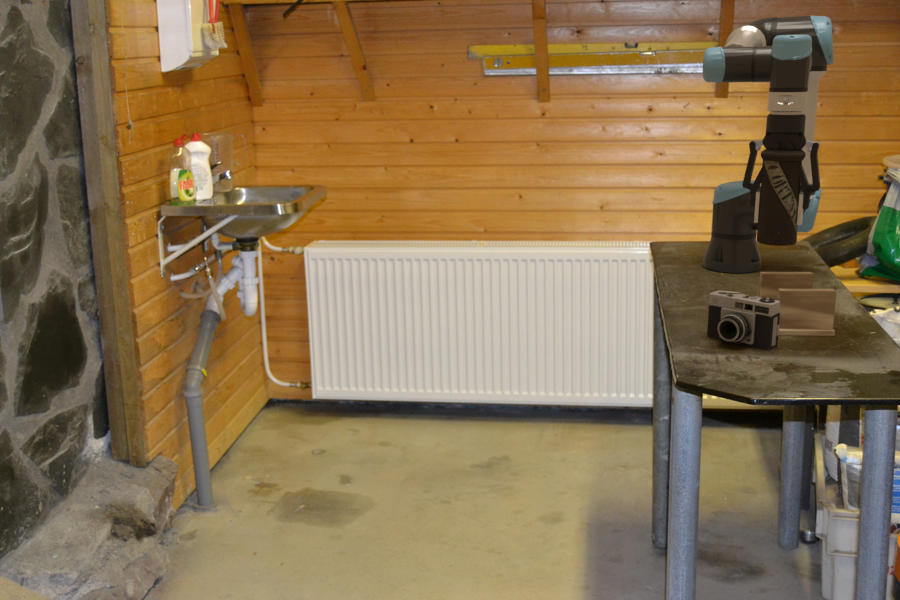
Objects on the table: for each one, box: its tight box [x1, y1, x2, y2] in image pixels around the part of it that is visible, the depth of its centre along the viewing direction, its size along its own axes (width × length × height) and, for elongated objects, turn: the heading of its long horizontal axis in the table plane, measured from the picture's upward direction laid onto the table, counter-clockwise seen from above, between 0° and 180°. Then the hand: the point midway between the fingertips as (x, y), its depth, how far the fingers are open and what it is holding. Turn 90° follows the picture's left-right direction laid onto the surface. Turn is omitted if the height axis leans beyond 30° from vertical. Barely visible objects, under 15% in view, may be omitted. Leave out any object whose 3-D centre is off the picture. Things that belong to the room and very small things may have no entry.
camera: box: [706, 289, 780, 351], centre depth 178 cm, size 14×9×10 cm, turn 37°
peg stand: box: [758, 271, 837, 337], centre depth 191 cm, size 20×11×9 cm, turn 175°
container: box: [756, 148, 806, 247], centre depth 187 cm, size 9×9×20 cm
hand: (777, 222), depth 188 cm, fingers closed on container, 8 cm apart
